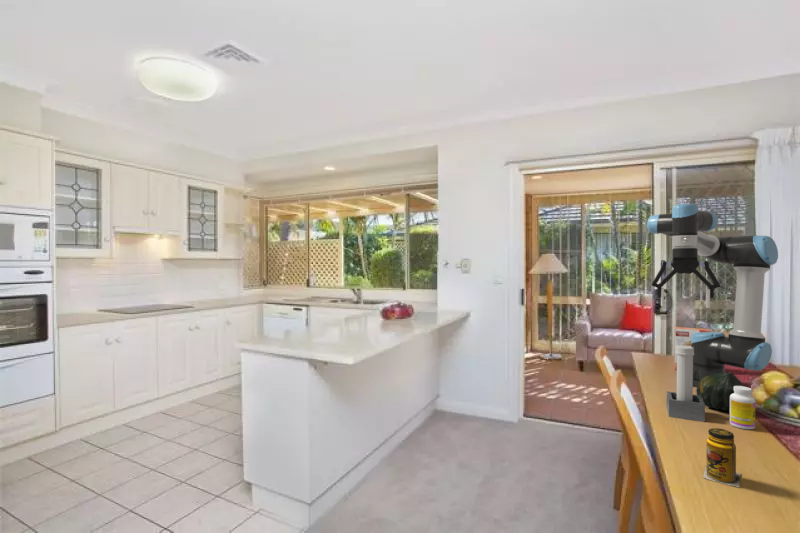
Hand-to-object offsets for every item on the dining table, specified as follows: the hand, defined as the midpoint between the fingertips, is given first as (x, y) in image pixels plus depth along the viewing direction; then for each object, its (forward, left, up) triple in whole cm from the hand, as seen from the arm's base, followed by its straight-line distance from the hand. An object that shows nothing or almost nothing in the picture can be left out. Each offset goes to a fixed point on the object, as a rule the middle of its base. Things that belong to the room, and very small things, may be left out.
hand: (684, 306), depth 151 cm
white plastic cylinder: (0, +1, -39) cm, 39 cm away
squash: (-13, -11, -39) cm, 42 cm away
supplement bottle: (-16, +5, -39) cm, 42 cm away
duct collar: (0, +1, -38) cm, 38 cm away
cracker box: (-10, -67, -39) cm, 78 cm away
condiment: (-4, +47, -39) cm, 61 cm away
